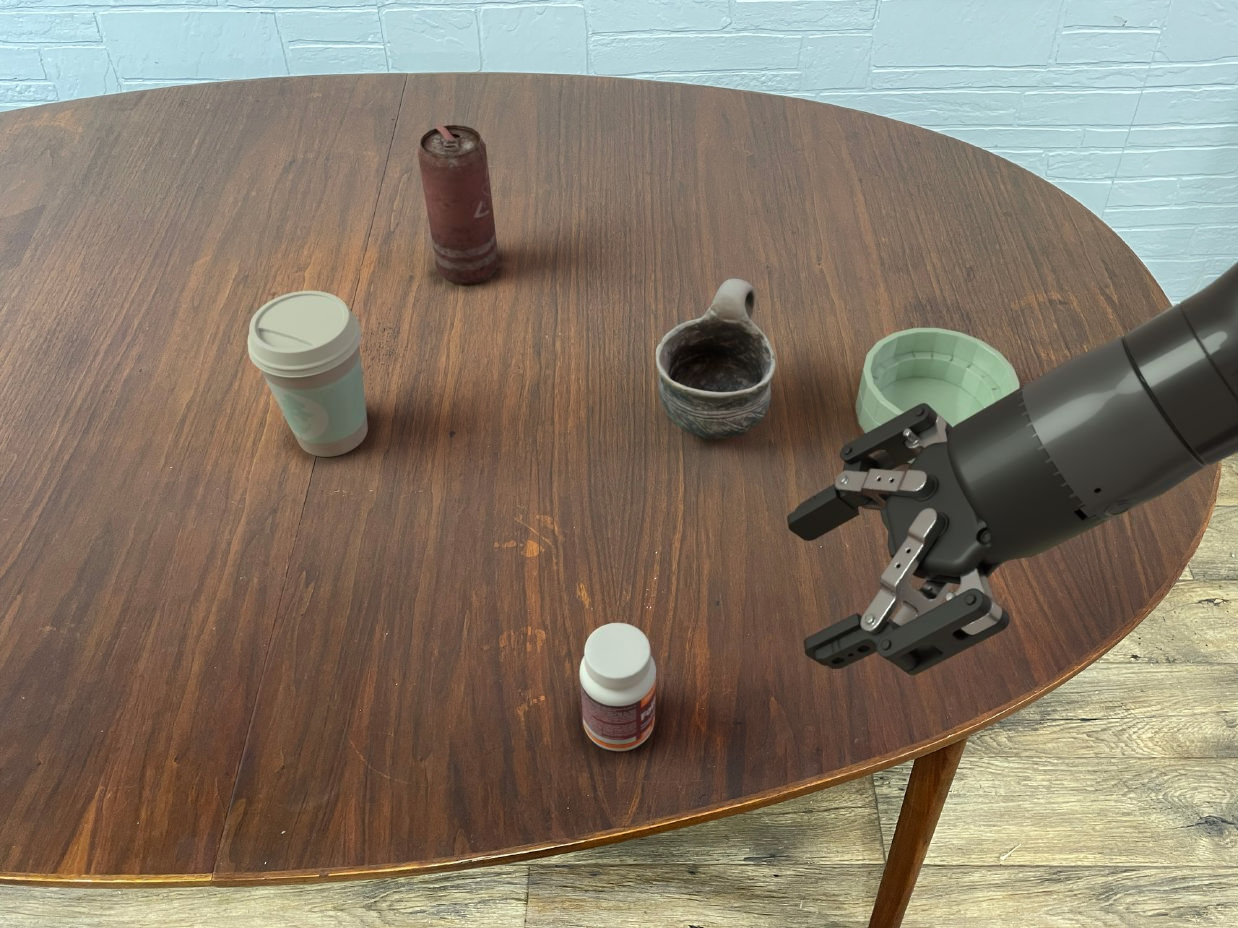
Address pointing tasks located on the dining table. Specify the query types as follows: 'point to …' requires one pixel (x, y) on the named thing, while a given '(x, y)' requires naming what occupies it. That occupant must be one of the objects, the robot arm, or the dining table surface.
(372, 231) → the dining table surface
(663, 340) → the mug
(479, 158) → the can
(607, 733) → the pill bottle
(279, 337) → the coffee cup
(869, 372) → the bowl
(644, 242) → the dining table surface
